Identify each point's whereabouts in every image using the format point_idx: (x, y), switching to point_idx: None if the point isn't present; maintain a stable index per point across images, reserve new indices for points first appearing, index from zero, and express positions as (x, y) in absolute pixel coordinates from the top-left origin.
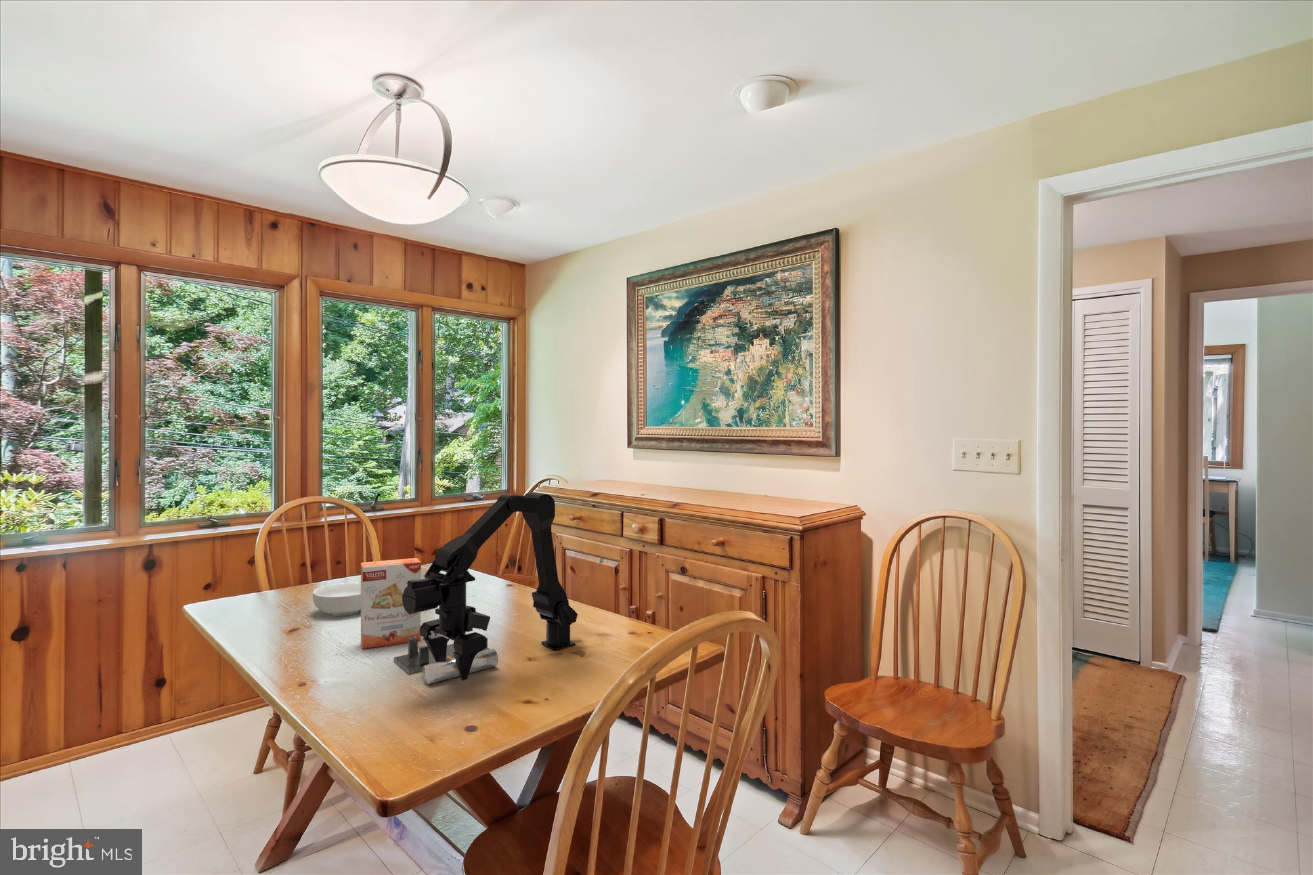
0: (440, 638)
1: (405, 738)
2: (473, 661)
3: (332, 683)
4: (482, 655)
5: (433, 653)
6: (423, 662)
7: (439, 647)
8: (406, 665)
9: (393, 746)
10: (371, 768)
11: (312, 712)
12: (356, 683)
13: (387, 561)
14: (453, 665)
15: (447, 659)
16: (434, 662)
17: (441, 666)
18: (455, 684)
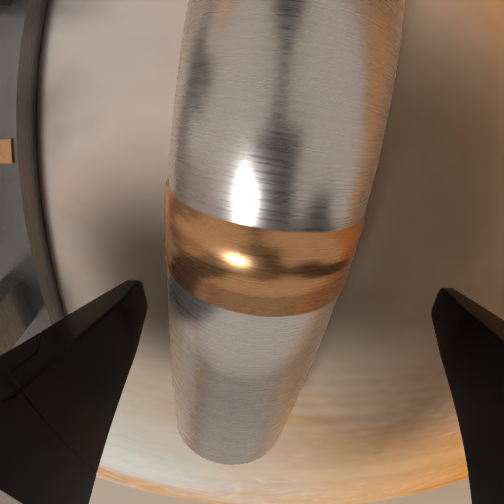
0: (22, 493)
1: (457, 457)
2: (376, 150)
3: None
4: (378, 2)
5: (105, 434)
6: (23, 313)
7: (68, 436)
8: (19, 344)
9: (453, 466)
10: (457, 477)
11: (204, 497)
12: None
13: None
14: (311, 352)
15: (5, 172)
16: (17, 253)
17: (278, 419)
18: (369, 300)
